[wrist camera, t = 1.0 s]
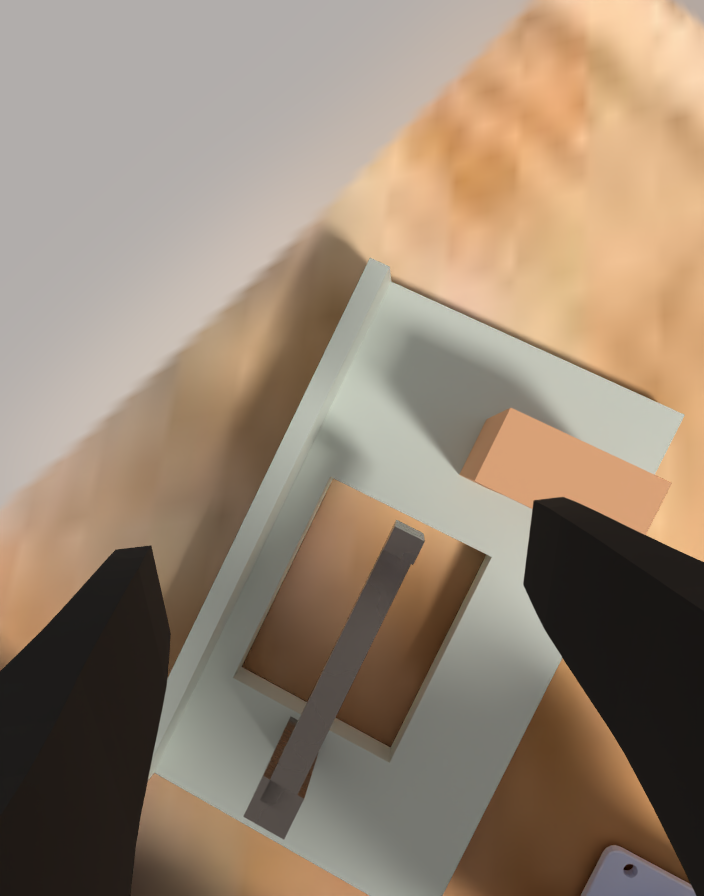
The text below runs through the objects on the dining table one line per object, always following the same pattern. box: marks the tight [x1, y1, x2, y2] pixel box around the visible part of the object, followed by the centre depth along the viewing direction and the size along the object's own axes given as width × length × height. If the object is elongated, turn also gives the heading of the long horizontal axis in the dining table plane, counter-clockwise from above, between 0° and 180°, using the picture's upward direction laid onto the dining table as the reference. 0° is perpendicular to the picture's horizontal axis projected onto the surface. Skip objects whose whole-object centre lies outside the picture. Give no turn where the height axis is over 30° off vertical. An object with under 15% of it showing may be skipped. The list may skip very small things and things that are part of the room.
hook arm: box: [243, 520, 425, 840], centre depth 21 cm, size 2×11×6 cm, turn 154°
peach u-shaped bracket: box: [459, 408, 672, 535], centre depth 19 cm, size 5×2×5 cm, turn 64°
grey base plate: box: [148, 258, 684, 896], centre depth 22 cm, size 13×22×3 cm, turn 154°
